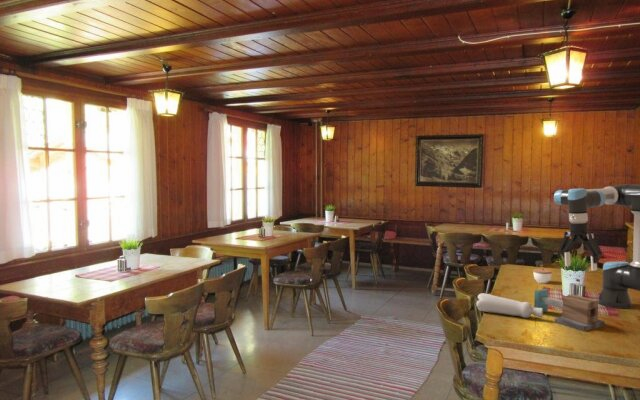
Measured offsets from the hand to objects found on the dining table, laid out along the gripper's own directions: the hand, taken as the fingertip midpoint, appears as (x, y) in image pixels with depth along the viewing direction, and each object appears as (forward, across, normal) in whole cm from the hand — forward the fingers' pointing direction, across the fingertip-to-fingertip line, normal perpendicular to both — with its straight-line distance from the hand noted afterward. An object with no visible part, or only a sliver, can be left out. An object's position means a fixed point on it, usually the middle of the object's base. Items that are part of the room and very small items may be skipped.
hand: (580, 268), depth 213 cm
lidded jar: (+28, -70, +50) cm, 91 cm away
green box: (+26, -14, -1) cm, 30 cm away
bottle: (+25, -25, -20) cm, 41 cm away
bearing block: (+27, -3, 0) cm, 27 cm away
